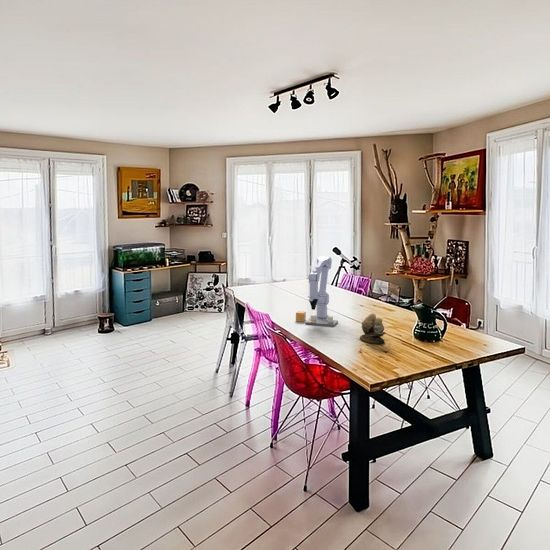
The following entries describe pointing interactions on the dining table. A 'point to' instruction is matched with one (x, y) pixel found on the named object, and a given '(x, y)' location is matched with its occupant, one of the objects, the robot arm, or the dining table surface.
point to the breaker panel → (321, 322)
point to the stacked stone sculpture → (372, 330)
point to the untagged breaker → (330, 319)
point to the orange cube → (300, 316)
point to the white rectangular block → (313, 317)
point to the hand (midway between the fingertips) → (313, 309)
